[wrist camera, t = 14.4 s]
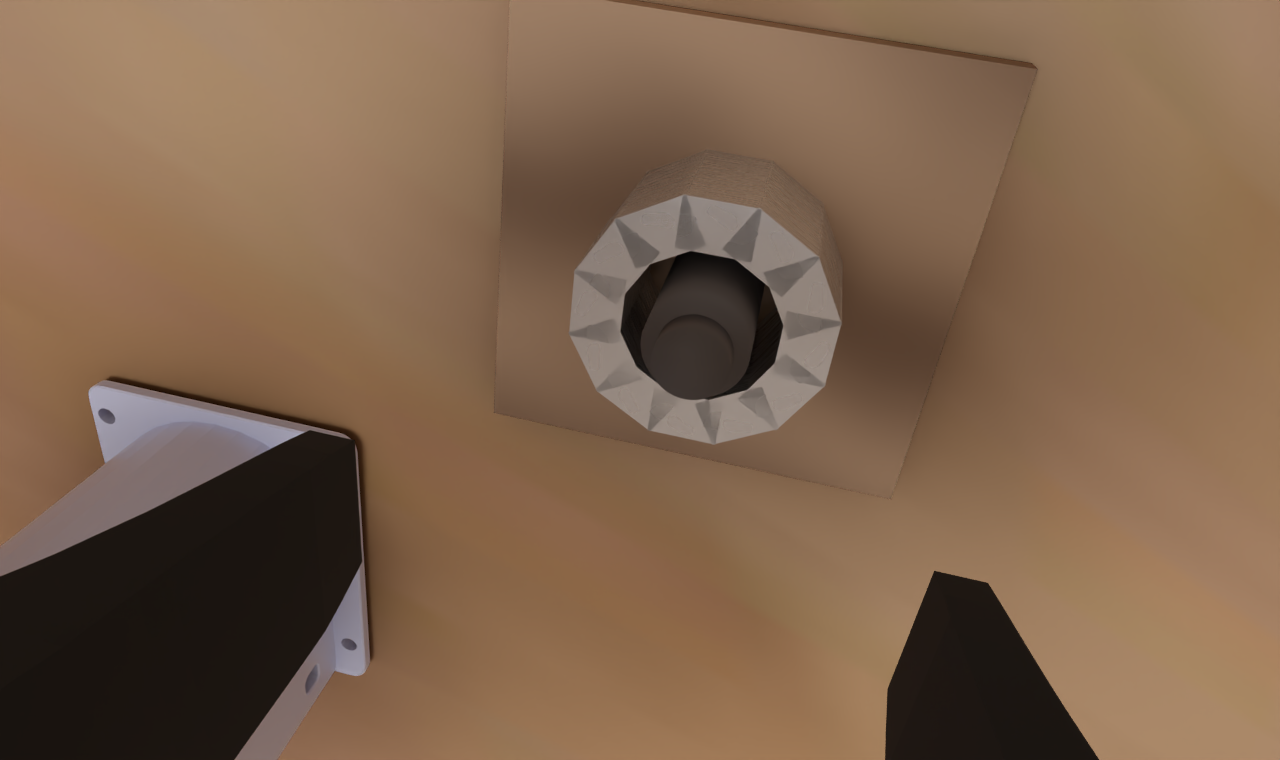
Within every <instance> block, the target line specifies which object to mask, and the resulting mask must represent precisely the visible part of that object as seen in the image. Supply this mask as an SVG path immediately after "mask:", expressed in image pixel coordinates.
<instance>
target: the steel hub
mask: <svg viewBox="0 0 1280 760" xmlns="http://www.w3.org/2000/svg"><path fill="white" fill-rule="evenodd" d="M689 251H694V252H700V253H705V254H710V255H715V256H721V257H726V258H731V259H735V260H737V261H738V262H739V263H740V264H741V265H743V266H744V267H745V268H746V269H748V270H749V271H750V272H751V273H753V274H754V275H755V276H756V277H757V278H759V279H760V280H761V281H762V282H764V283H765V284H766V285H767V286H768V287H769V288H770V290H771V293H772V296H773V299H774V301H775V304H776V307H775V308H774V310H773V311H772V312H771V313H770V314H769V315H768V316H767V317H766V318H765V319H764V320H763V321H762V322H761V323H758V324H757V327H756V332H755V337H754V342H753V347H752V352H751V357H750V361H749V365H748V368H747V370H746V372H745V374H744V375H743V377H742V378H741V380H740V381H739V382H738V383H737V384H736V385H734V386H733V387H732V388H730V389H729V390H727V391H725V392H723V393H721V394H718V395H715V396H711V397H708V398H705V399H700V400H686V399H682V398H678V397H676V396H673V395H672V394H670V393H668V392H667V391H665V390H664V389H663V388H662V387H661V386H660V385H659V384H658V382H657V381H656V380H655V378H654V377H653V376H652V375H651V373H650V372H649V371H648V369H647V367H646V365H645V363H644V361H643V358H642V354H641V346H640V344H641V336H642V332H643V329H644V326H645V324H646V322H647V320H648V317H649V315H650V313H651V311H652V309H653V306H654V304H655V302H656V300H657V298H658V295H659V292H658V289H657V287H656V285H655V282H654V280H653V278H652V275H651V273H650V270H651V264H652V263H655V262H658V261H661V260H664V259H667V258H671V257H674V256H677V255H680V254H683V253H686V252H689ZM842 273H843V260H841V257H840V253H839V250H838V247H837V244H836V241H835V238H834V235H833V232H832V229H831V226H830V223H829V220H828V217H827V214H826V211H825V208H824V204H823V202H821V201H820V200H819V199H817V198H816V197H815V196H814V195H813V194H811V193H810V192H809V191H808V190H807V189H806V188H804V187H803V186H802V185H801V184H800V183H798V182H797V181H796V180H795V179H794V178H792V177H791V176H790V175H789V174H788V173H787V172H785V171H784V170H783V169H782V168H781V167H779V166H778V165H777V164H776V163H775V162H774V161H772V160H771V161H770V160H765V159H759V158H753V157H748V156H742V155H736V154H731V153H725V152H719V151H714V150H709V149H706V150H705V151H702V152H699V153H697V154H694V155H691V156H688V157H686V158H683V159H680V160H678V161H675V162H672V163H670V164H667V165H664V166H661V167H659V168H656V169H653V170H651V171H648V172H646V174H645V175H644V177H643V178H642V179H641V181H640V182H639V184H638V185H637V186H636V187H635V189H634V190H633V191H632V192H631V194H630V195H629V196H628V198H627V199H626V200H625V201H624V203H623V204H622V205H621V206H620V208H619V209H618V210H617V212H616V213H615V214H614V215H613V217H611V218H610V220H609V221H608V222H607V224H606V225H605V227H604V228H603V230H602V231H601V232H600V234H599V235H598V237H597V238H596V240H595V241H594V242H593V244H592V245H591V247H590V248H589V250H588V251H587V253H586V254H585V255H584V257H583V258H582V260H581V261H580V263H579V264H578V265H577V267H576V268H575V271H574V283H573V294H572V306H571V317H570V329H569V332H568V333H569V335H570V337H571V339H572V341H573V343H574V345H575V347H576V349H577V351H578V353H579V355H580V357H581V359H582V361H583V364H584V366H585V368H586V370H587V372H588V374H589V376H590V378H591V380H592V382H593V384H594V386H595V388H596V391H597V392H599V393H600V394H601V395H603V396H604V397H605V398H607V399H608V400H609V401H611V402H612V403H613V404H615V405H616V406H617V407H619V408H620V409H621V410H623V411H624V412H625V413H627V414H628V415H629V416H631V417H632V418H633V419H635V420H636V421H637V422H638V423H640V424H641V425H642V426H644V427H645V428H646V429H648V430H649V431H654V432H659V433H663V434H668V435H672V436H677V437H682V438H686V439H691V440H696V441H700V442H705V443H710V444H712V445H713V444H714V445H715V444H717V443H722V442H726V441H730V440H734V439H738V438H742V437H747V436H751V435H755V434H759V433H763V432H768V431H772V430H777V429H779V427H780V426H781V425H782V424H784V423H785V422H786V421H787V420H788V419H789V418H790V417H791V416H792V415H793V414H795V413H796V412H797V411H798V410H799V409H800V408H801V407H802V406H803V405H804V404H806V403H807V402H808V401H809V400H810V399H811V398H812V397H813V396H814V395H815V394H817V393H818V392H819V391H820V390H821V389H822V388H823V387H825V385H826V379H827V376H828V372H829V368H830V364H831V361H832V357H833V353H834V349H835V346H836V342H837V338H838V334H839V331H840V327H841V325H842Z"/></svg>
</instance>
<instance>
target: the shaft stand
mask: <svg viewBox="0 0 1280 760" xmlns="http://www.w3.org/2000/svg"><path fill="white" fill-rule="evenodd" d="M1037 70H1038V69H1037V68H1036V67H1035V66H1034V65H1033V64H1032V63H1026V62H1020V61H1013V60H1007V59H1001V58H994V57H988V56H982V55H976V54H969V53H963V52H957V51H950V50H944V49H938V48H931V47H925V46H919V45H913V44H906V43H900V42H894V41H887V40H881V39H875V38H868V37H862V36H856V35H850V34H843V33H837V32H831V31H824V30H818V29H812V28H805V27H799V26H793V25H787V24H780V23H774V22H768V21H761V20H755V19H749V18H742V17H736V16H730V15H724V14H717V13H711V12H705V11H698V10H692V9H686V8H679V7H673V6H667V5H661V4H654V3H648V2H642V1H635V0H510V2H509V28H508V54H507V81H506V107H505V133H504V160H503V186H502V212H501V238H500V265H499V291H498V317H497V344H496V370H495V396H494V413H497V414H501V415H506V416H511V417H515V418H520V419H524V420H529V421H534V422H538V423H543V424H547V425H552V426H556V427H561V428H566V429H570V430H575V431H579V432H584V433H589V434H593V435H598V436H602V437H607V438H611V439H616V440H621V441H625V442H630V443H634V444H639V445H644V446H648V447H653V448H657V449H662V450H667V451H671V452H676V453H680V454H685V455H689V456H694V457H699V458H703V459H708V460H712V461H717V462H722V463H726V464H731V465H735V466H740V467H744V468H749V469H754V470H758V471H763V472H767V473H772V474H777V475H781V476H786V477H790V478H795V479H799V480H804V481H809V482H813V483H818V484H822V485H827V486H832V487H836V488H841V489H845V490H850V491H854V492H859V493H864V494H868V495H873V496H877V497H882V498H887V499H891V498H892V495H893V492H894V489H895V486H896V483H897V480H898V478H899V475H900V472H901V469H902V466H903V463H904V460H905V457H906V454H907V451H908V448H909V445H910V442H911V439H912V437H913V434H914V431H915V428H916V425H917V422H918V419H919V416H920V413H921V410H922V407H923V404H924V401H925V398H926V396H927V393H928V390H929V387H930V384H931V381H932V378H933V375H934V372H935V369H936V366H937V363H938V360H939V357H940V355H941V352H942V349H943V346H944V343H945V340H946V337H947V334H948V331H949V328H950V325H951V322H952V319H953V316H954V314H955V311H956V308H957V305H958V302H959V299H960V296H961V293H962V290H963V287H964V284H965V281H966V278H967V275H968V272H969V270H970V267H971V264H972V261H973V258H974V255H975V252H976V249H977V246H978V243H979V240H980V237H981V234H982V231H983V229H984V226H985V223H986V220H987V217H988V214H989V211H990V208H991V205H992V202H993V199H994V196H995V193H996V190H997V188H998V185H999V182H1000V179H1001V176H1002V173H1003V170H1004V167H1005V164H1006V161H1007V158H1008V155H1009V152H1010V149H1011V147H1012V144H1013V141H1014V138H1015V135H1016V132H1017V129H1018V126H1019V123H1020V120H1021V117H1022V114H1023V111H1024V108H1025V105H1026V103H1027V100H1028V97H1029V94H1030V91H1031V88H1032V85H1033V82H1034V79H1035V76H1036V73H1037ZM706 149H709V150H714V151H719V152H725V153H731V154H736V155H742V156H748V157H753V158H759V159H765V160H770V161H771V160H772V161H774V162H775V163H776V164H777V165H778V166H779V167H781V168H782V169H783V170H784V171H785V172H787V173H788V174H789V175H790V176H791V177H792V178H794V179H795V180H796V181H797V182H798V183H800V184H801V185H802V186H803V187H804V188H806V189H807V190H808V191H809V192H810V193H811V194H813V195H814V196H815V197H816V198H817V199H819V200H820V201H821V202H823V204H824V208H825V211H826V214H827V217H828V220H829V223H830V226H831V229H832V232H833V235H834V238H835V241H836V244H837V247H838V250H839V253H840V257H841V260H843V273H842V325H841V327H840V331H839V334H838V338H837V342H836V346H835V349H834V353H833V357H832V361H831V364H830V368H829V372H828V376H827V379H826V385H825V387H823V388H822V389H821V390H820V391H819V392H818V393H817V394H815V395H814V396H813V397H812V398H811V399H810V400H809V401H808V402H807V403H806V404H804V405H803V406H802V407H801V408H800V409H799V410H798V411H797V412H796V413H795V414H793V415H792V416H791V417H790V418H789V419H788V420H787V421H786V422H785V423H784V424H782V425H781V426H780V427H779V429H777V430H772V431H768V432H763V433H759V434H755V435H751V436H747V437H742V438H738V439H734V440H730V441H726V442H722V443H717V444H715V445H714V444H713V445H712V444H710V443H705V442H700V441H696V440H691V439H686V438H682V437H677V436H672V435H668V434H663V433H659V432H654V431H649V430H648V429H646V428H645V427H644V426H642V425H641V424H640V423H638V422H637V421H636V420H635V419H633V418H632V417H631V416H629V415H628V414H627V413H625V412H624V411H623V410H621V409H620V408H619V407H617V406H616V405H615V404H613V403H612V402H611V401H609V400H608V399H607V398H605V397H604V396H603V395H601V394H600V393H599V392H597V391H596V388H595V386H594V384H593V382H592V380H591V378H590V376H589V374H588V372H587V370H586V368H585V366H584V364H583V361H582V359H581V357H580V355H579V353H578V351H577V349H576V347H575V345H574V343H573V341H572V339H571V337H570V335H569V333H568V332H569V329H570V317H571V306H572V294H573V283H574V271H575V268H576V267H577V265H578V264H579V263H580V261H581V260H582V258H583V257H584V255H585V254H586V253H587V251H588V250H589V248H590V247H591V245H592V244H593V242H594V241H595V240H596V238H597V237H598V235H599V234H600V232H601V231H602V230H603V228H604V227H605V225H606V224H607V222H608V221H609V220H610V218H611V217H613V215H614V214H615V213H616V212H617V210H618V209H619V208H620V206H621V205H622V204H623V203H624V201H625V200H626V199H627V198H628V196H629V195H630V194H631V192H632V191H633V190H634V189H635V187H636V186H637V185H638V184H639V182H640V181H641V179H642V178H643V177H644V175H645V174H646V172H648V171H651V170H653V169H656V168H659V167H661V166H664V165H667V164H670V163H672V162H675V161H678V160H680V159H683V158H686V157H688V156H691V155H694V154H697V153H699V152H702V151H705V150H706ZM650 273H651V275H652V278H653V280H654V282H655V285H656V287H657V289H658V292H659V295H658V298H657V300H656V302H655V304H654V306H653V309H652V311H651V313H650V315H649V317H648V320H647V322H646V324H645V326H644V329H643V332H642V336H641V344H640V346H641V354H642V358H643V361H644V363H645V365H646V367H647V369H648V371H649V372H650V373H651V375H652V376H653V377H654V378H655V380H656V381H657V382H658V384H659V385H660V386H661V387H662V388H663V389H664V390H665V391H667V392H668V393H670V394H672V395H673V396H676V397H678V398H682V399H686V400H700V399H705V398H708V397H711V396H715V395H718V394H721V393H723V392H725V391H727V390H729V389H730V388H732V387H733V386H734V385H736V384H737V383H738V382H739V381H740V380H741V378H742V377H743V375H744V374H745V372H746V370H747V368H748V365H749V361H750V357H751V352H752V347H753V342H754V337H755V332H756V327H757V324H758V323H761V322H762V321H763V320H764V319H765V318H766V317H767V316H768V315H769V314H770V313H771V312H772V311H773V310H774V308H775V307H776V304H775V301H774V299H773V296H772V293H771V290H770V288H769V287H768V286H767V285H766V284H765V283H764V282H762V281H761V280H760V279H759V278H757V277H756V276H755V275H754V274H753V273H751V272H750V271H749V270H748V269H746V268H745V267H744V266H743V265H741V264H740V263H739V262H738V261H737V260H735V259H731V258H726V257H721V256H715V255H710V254H705V253H700V252H694V251H689V252H686V253H683V254H680V255H677V256H674V257H671V258H667V259H664V260H661V261H658V262H655V263H652V264H651V270H650Z"/></svg>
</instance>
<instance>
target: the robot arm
mask: <svg viewBox="0 0 1280 760" xmlns="http://www.w3.org/2000/svg"><path fill="white" fill-rule="evenodd" d="M89 400H90V404H91V408H92V412H93V416H94V420H95V425H96V429H97V433H98V437H99V441H100V445H101V449H102V453H103V457H104V461H105V464H104V465H103V466H102V467H100V468H99V469H98V470H97V471H95V472H94V473H93V474H91V475H90V476H89V477H88V478H86V479H85V480H84V481H83V482H81V483H80V484H79V485H77V486H76V487H75V488H74V489H72V490H71V491H70V492H69V493H67V494H66V495H65V496H63V497H62V498H61V499H60V500H58V501H57V502H56V503H55V504H53V505H52V506H51V507H50V508H48V509H47V510H46V511H44V512H43V513H42V514H41V515H39V516H38V517H37V518H36V519H34V520H33V521H32V522H30V523H29V524H28V525H27V526H25V527H24V528H23V529H22V530H20V531H19V532H18V533H16V534H15V535H14V536H13V537H11V538H10V539H9V540H8V541H6V542H5V543H4V544H3V545H1V546H0V760H277V759H278V758H279V756H280V755H281V753H282V752H283V750H284V749H285V747H286V745H287V744H288V742H289V741H290V739H291V738H292V736H293V735H294V733H295V732H296V730H297V728H298V727H299V725H300V724H301V722H302V721H303V719H304V718H305V716H306V715H307V713H308V711H309V710H310V708H311V707H312V705H313V704H314V702H315V701H316V699H317V698H318V696H319V694H320V693H321V691H322V690H323V688H324V687H325V685H326V684H327V682H328V681H329V679H330V677H331V676H332V674H333V673H334V671H337V672H341V673H345V674H349V675H354V676H359V675H362V674H363V673H365V671H366V670H367V668H368V666H369V664H370V651H369V634H368V618H367V601H366V585H365V568H364V552H363V535H362V519H361V502H360V486H359V469H358V453H357V448H356V445H355V440H352V439H350V438H349V437H348V436H346V435H344V434H342V433H339V432H334V431H330V430H326V429H321V428H317V427H312V426H308V425H303V424H299V423H295V422H290V421H286V420H281V419H277V418H272V417H268V416H264V415H259V414H255V413H250V412H246V411H241V410H237V409H232V408H228V407H224V406H219V405H215V404H210V403H206V402H201V401H197V400H193V399H188V398H184V397H179V396H175V395H170V394H166V393H162V392H157V391H153V390H148V389H144V388H139V387H135V386H131V385H126V384H122V383H117V382H113V381H106V380H103V381H101V382H98V383H97V384H96V385H94V386H93V387H91V388H90V390H89ZM885 760H1099V759H1098V757H1097V756H1096V754H1095V753H1094V751H1093V750H1092V748H1091V747H1090V745H1089V744H1088V742H1087V741H1086V739H1085V738H1084V736H1083V735H1082V733H1081V732H1080V730H1079V729H1078V727H1077V726H1076V724H1075V722H1074V721H1073V719H1072V718H1071V716H1070V715H1069V713H1068V712H1067V710H1066V709H1065V707H1064V706H1063V704H1062V703H1061V701H1060V699H1059V698H1058V696H1057V695H1056V693H1055V692H1054V690H1053V688H1052V687H1051V685H1050V684H1049V682H1048V680H1047V679H1046V677H1045V675H1044V674H1043V672H1042V671H1041V669H1040V667H1039V666H1038V664H1037V663H1036V661H1035V659H1034V658H1033V656H1032V654H1031V653H1030V651H1029V649H1028V648H1027V646H1026V645H1025V643H1024V641H1023V640H1022V638H1021V636H1020V635H1019V633H1018V631H1017V630H1016V628H1015V626H1014V625H1013V623H1012V621H1011V620H1010V618H1009V616H1008V615H1007V613H1006V611H1005V610H1004V608H1003V606H1002V605H1001V603H1000V602H999V600H998V598H997V597H996V595H995V594H994V592H993V590H992V589H991V587H990V586H989V584H988V583H986V582H981V581H977V580H972V579H968V578H963V577H959V576H955V575H950V574H946V573H941V572H937V571H934V573H933V576H932V578H931V581H930V583H929V586H928V588H927V591H926V593H925V596H924V598H923V601H922V603H921V606H920V609H919V611H918V614H917V616H916V619H915V621H914V624H913V626H912V629H911V631H910V634H909V636H908V639H907V641H906V644H905V646H904V649H903V652H902V654H901V657H900V659H899V662H898V664H897V667H896V669H895V672H894V674H893V677H892V679H891V682H890V684H889V687H888V693H887V718H886V750H885Z"/></svg>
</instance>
